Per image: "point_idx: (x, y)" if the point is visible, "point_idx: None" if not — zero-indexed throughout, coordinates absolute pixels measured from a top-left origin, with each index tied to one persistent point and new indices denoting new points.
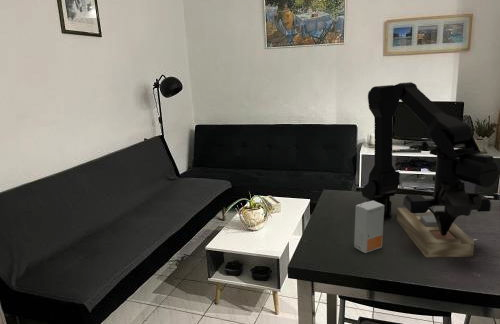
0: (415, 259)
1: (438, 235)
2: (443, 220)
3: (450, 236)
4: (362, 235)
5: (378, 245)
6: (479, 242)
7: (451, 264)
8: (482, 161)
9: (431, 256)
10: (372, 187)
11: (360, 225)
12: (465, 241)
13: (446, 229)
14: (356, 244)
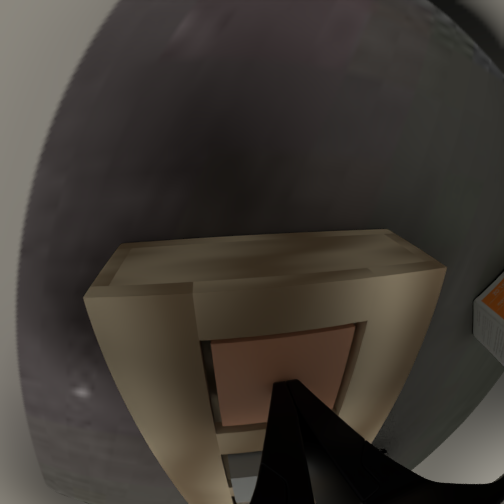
0: (433, 210)
1: (317, 377)
2: (371, 479)
3: (240, 374)
4: None
5: (494, 296)
6: (66, 370)
7: (291, 142)
8: None
9: (365, 230)
10: None
11: None
12: (153, 297)
13: (291, 417)
14: None
